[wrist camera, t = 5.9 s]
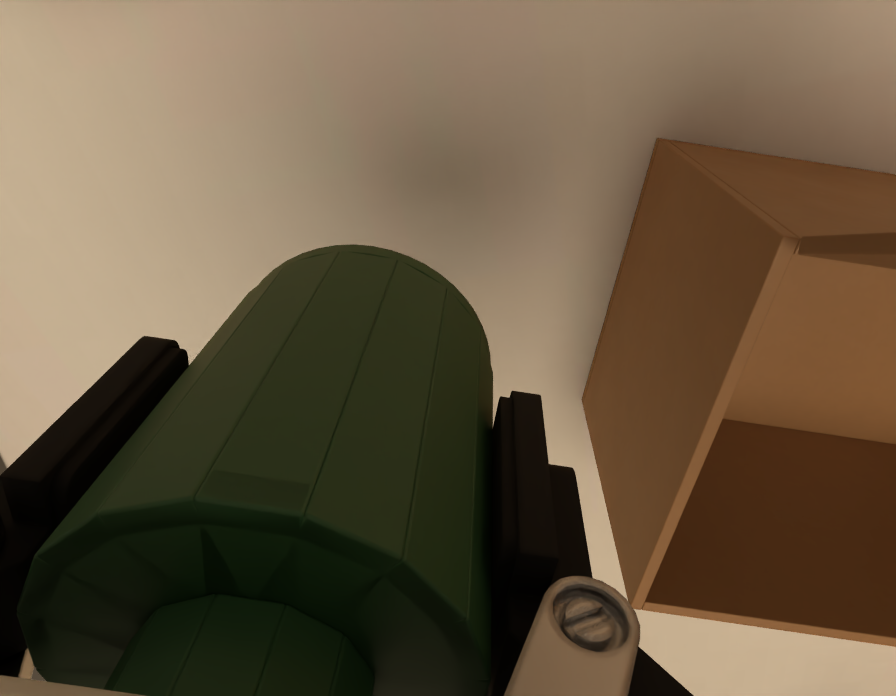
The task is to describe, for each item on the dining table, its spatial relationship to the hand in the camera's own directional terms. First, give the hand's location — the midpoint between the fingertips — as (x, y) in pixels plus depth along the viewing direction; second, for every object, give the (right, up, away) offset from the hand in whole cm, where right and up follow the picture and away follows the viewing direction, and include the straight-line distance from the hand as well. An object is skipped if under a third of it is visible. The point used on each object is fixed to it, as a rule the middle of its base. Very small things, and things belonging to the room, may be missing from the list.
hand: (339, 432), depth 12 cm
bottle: (0, +1, +2) cm, 3 cm away
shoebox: (+18, +3, +16) cm, 25 cm away
